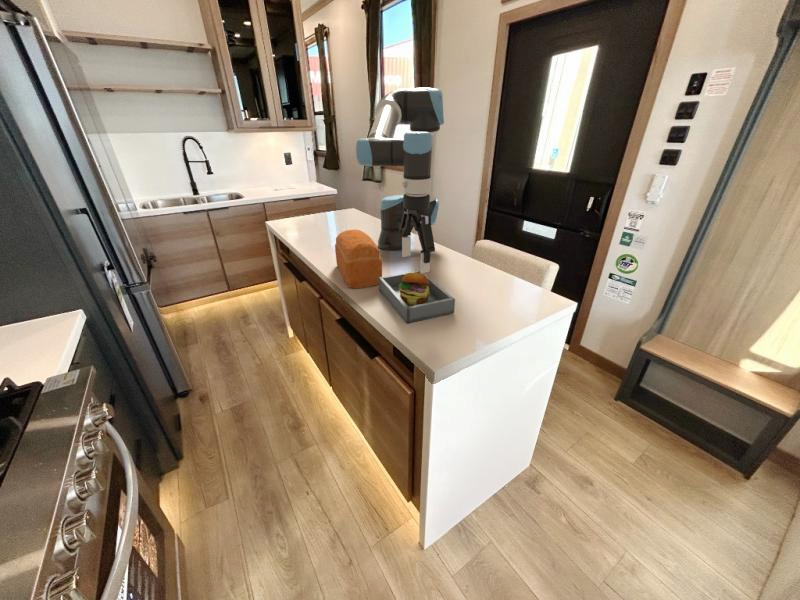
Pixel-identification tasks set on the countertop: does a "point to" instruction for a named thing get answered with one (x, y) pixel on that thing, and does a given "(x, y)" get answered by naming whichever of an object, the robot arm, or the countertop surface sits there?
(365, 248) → the bread
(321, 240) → the countertop surface
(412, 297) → the cheeseburger
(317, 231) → the countertop surface
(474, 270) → the countertop surface
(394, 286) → the box
